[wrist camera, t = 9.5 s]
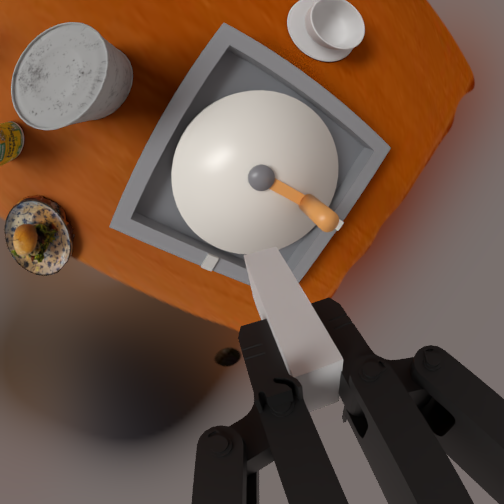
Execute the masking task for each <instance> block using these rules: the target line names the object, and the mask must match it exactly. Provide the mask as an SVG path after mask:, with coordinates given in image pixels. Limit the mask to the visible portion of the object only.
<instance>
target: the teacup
mask: <svg viewBox="0 0 504 504" xmlns="http://www.w3.org/2000/svg"><path fill="white" fill-rule="evenodd" d="M287 26H288V31H289V34H290V36H291V38H292V40H293V42H294V43H295V44H296V46H297V47H298V48H299V49H300V50H301V51H302V52H304V53H305V54H306V55H308V56H310V57H312V58H314V59H316V60H319V61H325V62H334V61H338V60H341V59H343V58H345V57H346V56H347V55H348V54H349V53H350V52H351V51H352V49H353V48H354V47H356V46H357V45H359V44H360V43H361V41H362V39H363V37H364V33H365V26H364V22H363V19H362V17H361V15H360V13H359V12H358V11H357V9H356V8H355V7H354V6H352V5H351V4H350V3H348V2H347V1H345V0H300V1H298V2H297V3H295V4H294V5H293V7H292V8H291V10H290V12H289V14H288V18H287Z"/></svg>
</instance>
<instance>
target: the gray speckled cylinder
mask: <svg viewBox="0 0 504 504" xmlns="http://www.w3.org/2000/svg"><path fill="white" fill-rule="evenodd" d="M132 81H133V70H132V66H131V63H130V61H129V59H128V58H127V56H126V55H125V54H124V53H122V52H121V51H120V50H118V49H116V48H115V47H114V46H113V45H112V44H110V43H109V42H108V41H107V40H105V39H104V38H103V37H102V36H101V35H100V33H99V32H97V31H96V30H95V29H93V28H92V27H91V26H88V25H86V24H83V23H77V22H68V23H63V24H58V25H56V26H54V27H51V28H49V29H47V30H46V31H44V32H43V33H41V34H40V35H38V36H37V37H36V38H35V39H34V40H33V41H32V42H31V43H30V44H29V45H28V46H27V48H26V49H25V50H24V52H23V53H22V55H21V56H20V58H19V60H18V62H17V64H16V67H15V70H14V73H13V77H12V84H11V95H12V101H13V105H14V108H15V110H16V112H17V113H18V115H19V117H20V118H21V119H22V120H23V121H24V122H25V123H26V124H28V125H30V126H32V127H34V128H36V129H41V130H55V129H59V128H62V127H65V126H68V125H71V124H75V123H80V122H84V121H89V120H97V119H100V118H104V117H106V116H108V115H110V114H112V113H113V112H114V111H115V110H117V109H118V108H119V107H120V106H121V105H122V103H123V102H124V101H125V99H126V98H127V96H128V94H129V92H130V89H131V86H132Z"/></svg>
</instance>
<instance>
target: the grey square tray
mask: <svg viewBox="0 0 504 504" xmlns="http://www.w3.org/2000/svg"><path fill="white" fill-rule="evenodd" d="M253 90H265V91H274V92H278V93H282V94H286V95H288V96H291V97H293V98H296V99H297V100H299V101H301V102H303V103H304V104H306V105H307V106H308V107H310V108H311V109H312V110H313V111H314V112H315V113H316V114H317V115H318V116H319V117H320V118H321V119H322V121H323V122H324V123H325V125H326V126H327V128H328V130H329V132H330V133H331V135H332V138H333V140H334V143H335V146H336V150H337V155H338V165H339V167H338V180H337V186H336V189H335V193H334V196H333V198H332V201H331V203H330V205H329V208H330V209H331V210H333V211H334V212H335V213H336V214H337V215H338V217H339V223H338V226H337V227H336V228H335V229H334V230H333V231H331V232H324V231H322V230H321V229H320V228H319V227H318V226H317V225H315V226H314V227H313V229H311V230H310V231H309V232H308V233H307V234H306V235H305V236H303V237H302V238H300V239H299V240H297V241H296V242H294V243H292V244H290V245H288V246H286V247H284V248H281V249H279V252H280V254H281V255H282V257H283V258H284V260H285V262H286V263H287V265H288V267H289V268H290V270H291V272H292V273H293V275H294V276H295V278H296V280H297V281H298V283H299V282H300V280H301V279H302V278H303V276H304V275H305V274H306V272H307V271H308V270H309V268H310V267H311V265H312V264H313V263H314V261H315V260H316V259H317V257H318V256H319V254H320V253H321V252H322V250H323V249H324V247H325V246H326V245H327V243H328V242H329V240H330V239H331V237H332V236H333V235H334V233H335V232H336V230H337V231H339V229H340V228H341V226H342V225H343V224H344V222H343V220H344V219H345V217H346V216H347V214H348V213H349V211H350V210H351V209H352V207H353V206H354V204H355V203H356V201H357V200H358V198H359V197H360V195H361V194H362V192H363V191H364V189H365V188H366V186H367V185H368V183H369V181H370V180H371V178H372V177H373V175H374V174H375V172H376V171H377V169H378V168H379V166H380V164H381V163H382V161H383V160H384V158H385V156H386V155H387V153H388V152H389V150H390V148H391V147H390V146H389V145H388V144H387V143H386V142H385V141H384V140H383V139H382V138H381V137H380V136H378V135H377V134H376V133H375V132H374V131H373V130H372V129H371V128H370V127H369V126H368V125H367V124H366V123H365V122H364V121H362V120H361V119H360V118H359V117H358V116H357V115H356V114H355V113H354V112H352V111H351V110H350V109H349V108H348V107H347V106H345V105H344V104H343V103H342V102H341V101H339V100H338V99H337V98H336V97H335V96H333V95H332V94H331V93H330V92H328V91H327V90H326V89H325V88H323V87H322V86H321V85H320V84H318V83H317V82H316V81H314V80H313V79H312V78H310V77H309V76H308V75H306V74H305V73H304V72H302V71H301V70H299V69H298V68H297V67H295V66H294V65H292V64H291V63H289V62H288V61H287V60H285V59H284V58H282V57H281V56H279V55H278V54H276V53H275V52H273V51H271V50H270V49H268V48H267V47H265V46H264V45H262V44H260V43H259V42H257V41H255V40H254V39H252V38H250V37H249V36H247V35H245V34H244V33H242V32H240V31H238V30H237V29H235V28H233V27H231V26H229V25H227V24H226V23H223V24H222V26H221V27H220V28H219V30H218V31H217V32H216V33H215V35H214V36H213V38H212V39H211V40H210V42H209V43H208V44H207V46H206V47H205V49H204V50H203V51H202V53H201V54H200V56H199V57H198V59H197V60H196V61H195V63H194V64H193V66H192V67H191V69H190V70H189V72H188V74H187V75H186V77H185V78H184V80H183V81H182V83H181V84H180V86H179V88H178V89H177V91H176V93H175V94H174V96H173V97H172V99H171V101H170V102H169V104H168V106H167V108H166V109H165V111H164V113H163V115H162V116H161V118H160V120H159V122H158V124H157V125H156V127H155V129H154V131H153V133H152V135H151V136H150V138H149V140H148V142H147V144H146V146H145V148H144V150H143V152H142V154H141V156H140V158H139V160H138V162H137V164H136V166H135V168H134V170H133V173H132V175H131V177H130V179H129V181H128V183H127V186H126V188H125V190H124V192H123V195H122V197H121V199H120V202H119V204H118V207H117V209H116V211H115V214H114V216H113V219H112V221H111V224H110V226H109V227H110V228H113V229H115V230H117V231H120V232H122V233H124V234H126V235H129V236H131V237H133V238H136V239H138V240H140V241H143V242H145V243H147V244H150V245H152V246H154V247H157V248H159V249H162V250H164V251H166V252H169V253H171V254H174V255H176V256H178V257H181V258H183V259H186V260H188V261H190V262H193V263H195V264H198V265H200V266H201V268H204V269H206V270H209V271H212V270H213V271H215V272H218V273H220V274H223V275H225V276H228V277H230V278H233V279H235V280H238V281H240V282H243V283H245V284H248V285H250V281H249V276H248V272H247V268H246V264H245V259H244V255H247V254H237V253H232V252H228V251H225V250H222V249H219V248H217V247H215V246H213V245H211V244H209V243H207V242H206V241H204V240H203V239H201V238H200V237H199V236H198V235H197V234H196V233H195V232H193V230H192V229H191V228H190V227H189V226H188V225H187V223H186V222H185V220H184V219H183V217H182V216H181V214H180V212H179V210H178V207H177V205H176V202H175V199H174V195H173V190H172V177H171V172H172V164H173V157H174V154H175V150H176V147H177V144H178V142H179V140H180V137H181V135H182V134H183V132H184V131H185V129H186V127H187V126H188V125H189V123H190V122H191V121H192V120H193V119H194V117H195V116H196V115H198V114H199V113H200V112H201V111H202V110H203V109H204V108H206V107H207V106H209V105H210V104H212V103H213V102H215V101H217V100H219V99H221V98H223V97H226V96H229V95H232V94H235V93H240V92H245V91H253ZM250 286H251V285H250Z"/></svg>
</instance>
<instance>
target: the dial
mask: <svg viewBox="0 0 504 504" xmlns="http://www.w3.org/2000/svg"><path fill="white" fill-rule="evenodd" d="M338 167H339V165H338V155H337V150H336V146H335V143H334V140H333V138H332V135H331V133H330V132H329V130H328V128H327V126H326V125H325V123H324V122H323V121H322V119H321V118H320V117H319V116H318V115H317V114H316V113H315V112H314V111H313V110H312V109H311V108H310V107H308V106H307V105H306V104H304V103H303V102H301V101H299V100H297V99H296V98H293V97H291V96H288V95H286V94H282V93H278V92H274V91H265V90H253V91H245V92H240V93H235V94H232V95H229V96H226V97H223V98H221V99H219V100H217V101H215V102H213V103H212V104H210V105H209V106H207V107H206V108H204V109H203V110H202V111H201V112H200V113H199V114H198V115H196V116H195V117H194V119H193V120H192V121H191V122H190V123H189V125H188V126H187V127H186V129H185V131H184V132H183V134H182V135H181V137H180V140H179V142H178V144H177V147H176V150H175V154H174V157H173V164H172V172H171V177H172V190H173V195H174V199H175V202H176V205H177V207H178V210H179V212H180V214H181V216H182V217H183V219H184V220H185V222H186V223H187V225H188V226H189V227H190V228H191V229H192V230H193V232H195V233H196V234H197V235H198V236H199V237H200V238H201V239H203V240H204V241H206V242H207V243H209V244H211V245H213V246H215V247H217V248H219V249H222V250H225V251H228V252H232V253H237V254H250V253H254V252H257V251H261V250H264V249H268V248H271V247H275V246H276V247H277V249H278V250H279V249H281V248H284V247H286V246H288V245H290V244H292V243H294V242H296V241H297V240H299V239H300V238H302V237H303V236H305V235H306V234H307V233H308V232H309V231H310V230H311V229H313V227H314V226H315V225H317V226H318V227H319V228H320V229H321V230H322V231H324V232H331V231H333V230H334V229H335V228H336V227H337V226H338V223H339V217H338V215H337V214H336V213H335V212H334V211H333V210H331V209H330V208H329V205H330V203H331V201H332V198H333V196H334V193H335V189H336V186H337V180H338Z"/></svg>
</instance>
